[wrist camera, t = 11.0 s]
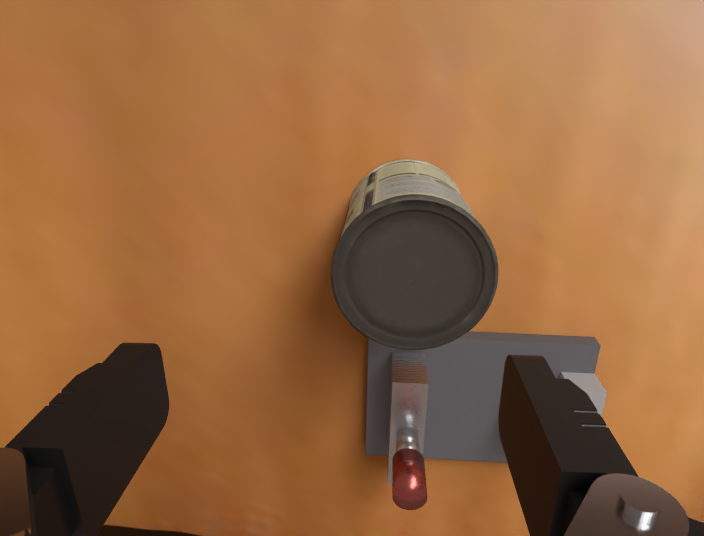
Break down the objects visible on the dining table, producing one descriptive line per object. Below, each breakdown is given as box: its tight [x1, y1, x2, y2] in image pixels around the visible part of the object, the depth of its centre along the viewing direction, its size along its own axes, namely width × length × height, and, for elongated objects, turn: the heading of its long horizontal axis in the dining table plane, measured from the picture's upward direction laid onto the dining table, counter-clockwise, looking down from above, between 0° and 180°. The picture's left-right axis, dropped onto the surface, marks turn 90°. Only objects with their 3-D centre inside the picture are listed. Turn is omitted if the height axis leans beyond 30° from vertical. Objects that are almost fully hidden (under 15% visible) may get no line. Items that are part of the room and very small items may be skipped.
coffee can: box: [331, 159, 498, 350], centre depth 38 cm, size 10×10×14 cm
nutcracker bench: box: [365, 332, 607, 463], centre depth 48 cm, size 21×14×4 cm, turn 89°
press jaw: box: [388, 352, 429, 510], centre depth 44 cm, size 3×11×12 cm, turn 179°
